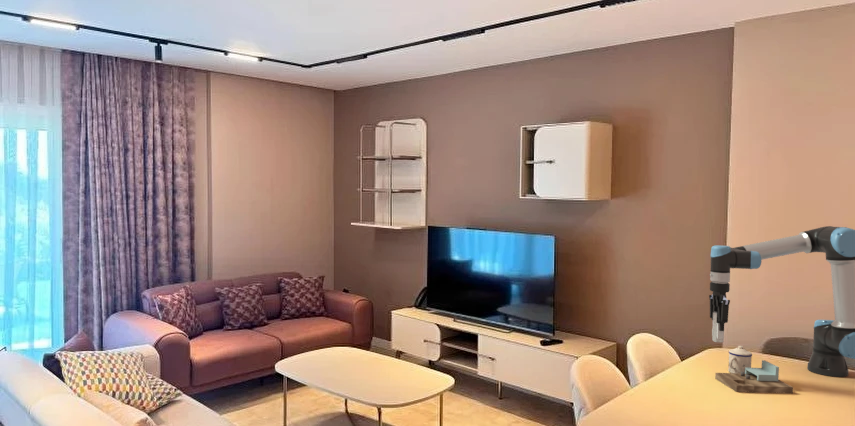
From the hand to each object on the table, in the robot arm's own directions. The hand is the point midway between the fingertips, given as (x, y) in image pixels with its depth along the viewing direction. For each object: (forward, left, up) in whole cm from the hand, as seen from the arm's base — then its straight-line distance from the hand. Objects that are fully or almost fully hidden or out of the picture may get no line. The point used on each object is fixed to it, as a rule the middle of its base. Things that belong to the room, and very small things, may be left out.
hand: (718, 337), depth 258 cm
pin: (0, 0, -2) cm, 2 cm away
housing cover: (-13, +11, -13) cm, 22 cm away
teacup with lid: (-11, -3, -16) cm, 20 cm away
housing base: (-8, +14, -16) cm, 23 cm away
